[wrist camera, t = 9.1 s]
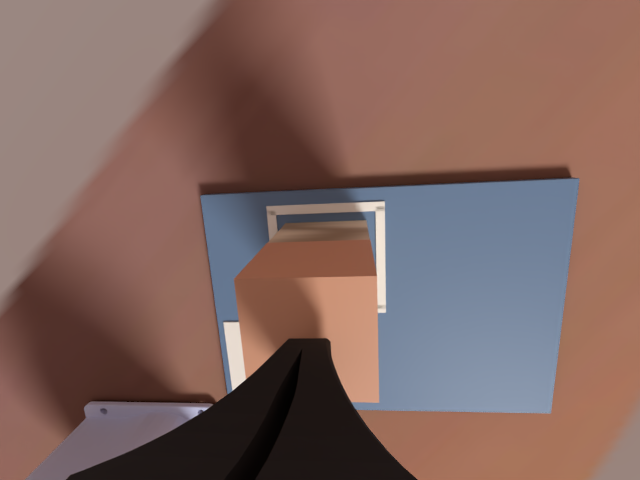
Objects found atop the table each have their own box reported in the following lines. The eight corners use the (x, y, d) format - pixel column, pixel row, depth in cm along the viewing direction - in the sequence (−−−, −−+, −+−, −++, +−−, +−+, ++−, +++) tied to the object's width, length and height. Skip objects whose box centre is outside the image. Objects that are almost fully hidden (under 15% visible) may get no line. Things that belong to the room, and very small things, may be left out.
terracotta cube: (275, 335, 17) (248, 400, 12) (266, 242, 16) (233, 279, 11) (372, 334, 16) (379, 402, 12) (370, 239, 15) (377, 276, 11)
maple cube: (291, 297, 21) (275, 335, 17) (285, 222, 20) (267, 243, 16) (368, 296, 21) (371, 335, 16) (366, 220, 19) (370, 240, 15)
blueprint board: (232, 401, 24) (228, 409, 23) (204, 194, 21) (198, 195, 20) (545, 406, 22) (552, 415, 21) (572, 177, 19) (581, 178, 18)
